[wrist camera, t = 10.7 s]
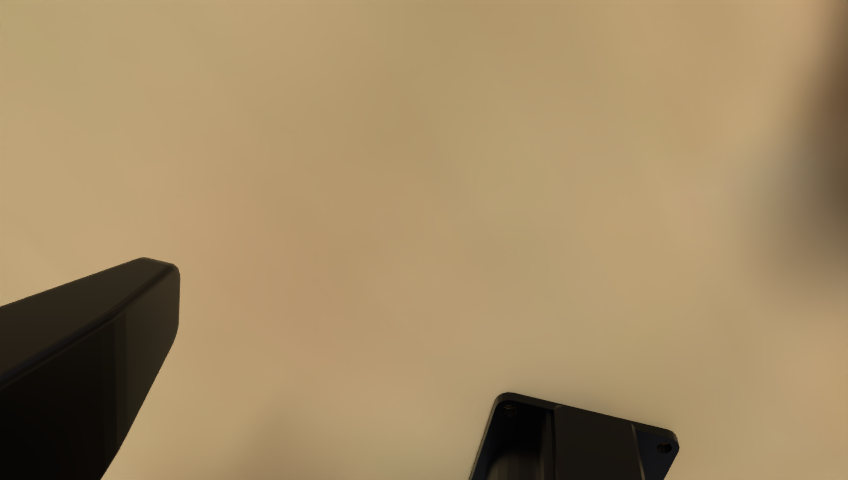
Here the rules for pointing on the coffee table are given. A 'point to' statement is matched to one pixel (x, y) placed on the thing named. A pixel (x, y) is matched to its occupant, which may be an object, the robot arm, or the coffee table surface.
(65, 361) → the robot arm
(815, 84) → the coffee table surface
